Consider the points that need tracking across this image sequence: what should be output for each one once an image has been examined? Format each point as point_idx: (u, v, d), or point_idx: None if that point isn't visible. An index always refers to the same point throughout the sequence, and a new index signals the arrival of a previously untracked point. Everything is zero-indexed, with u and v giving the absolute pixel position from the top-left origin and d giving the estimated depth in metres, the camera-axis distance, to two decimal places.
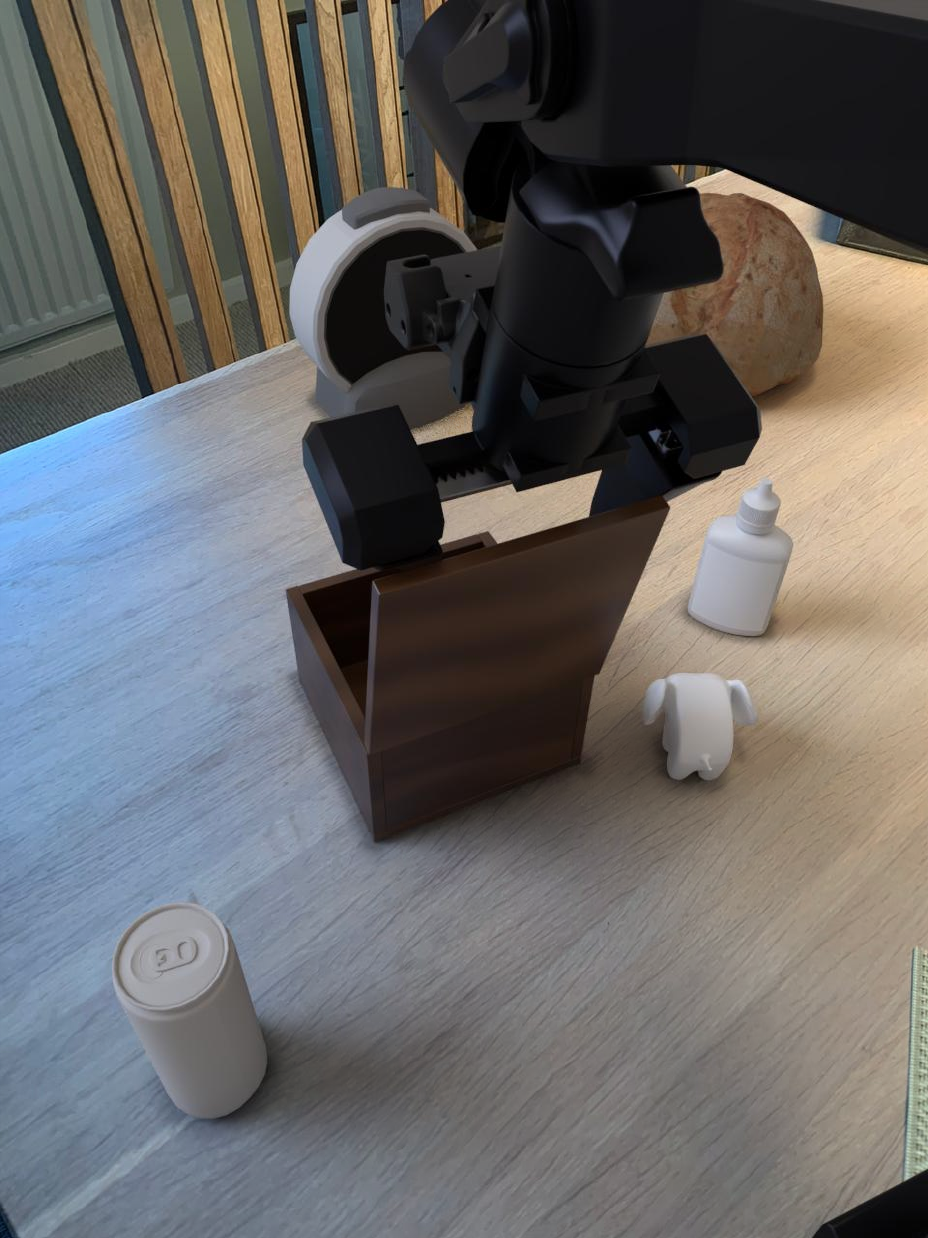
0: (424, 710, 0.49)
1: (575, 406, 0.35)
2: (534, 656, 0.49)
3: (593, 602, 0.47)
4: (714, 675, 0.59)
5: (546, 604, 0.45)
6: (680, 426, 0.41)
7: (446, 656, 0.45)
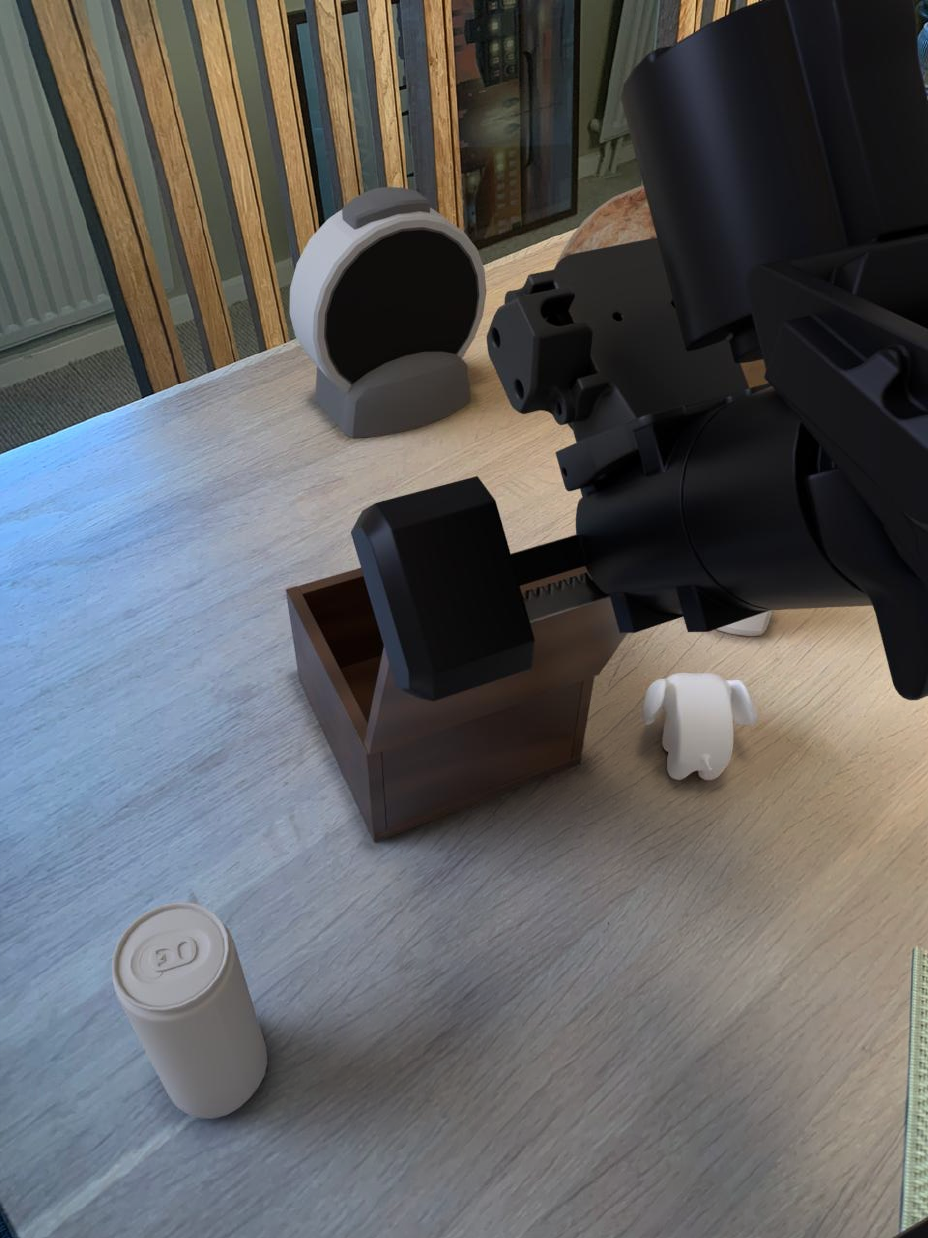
0: (427, 717, 0.49)
1: None
2: (539, 667, 0.49)
3: (603, 620, 0.47)
4: (714, 675, 0.59)
5: (557, 627, 0.45)
6: None
7: None
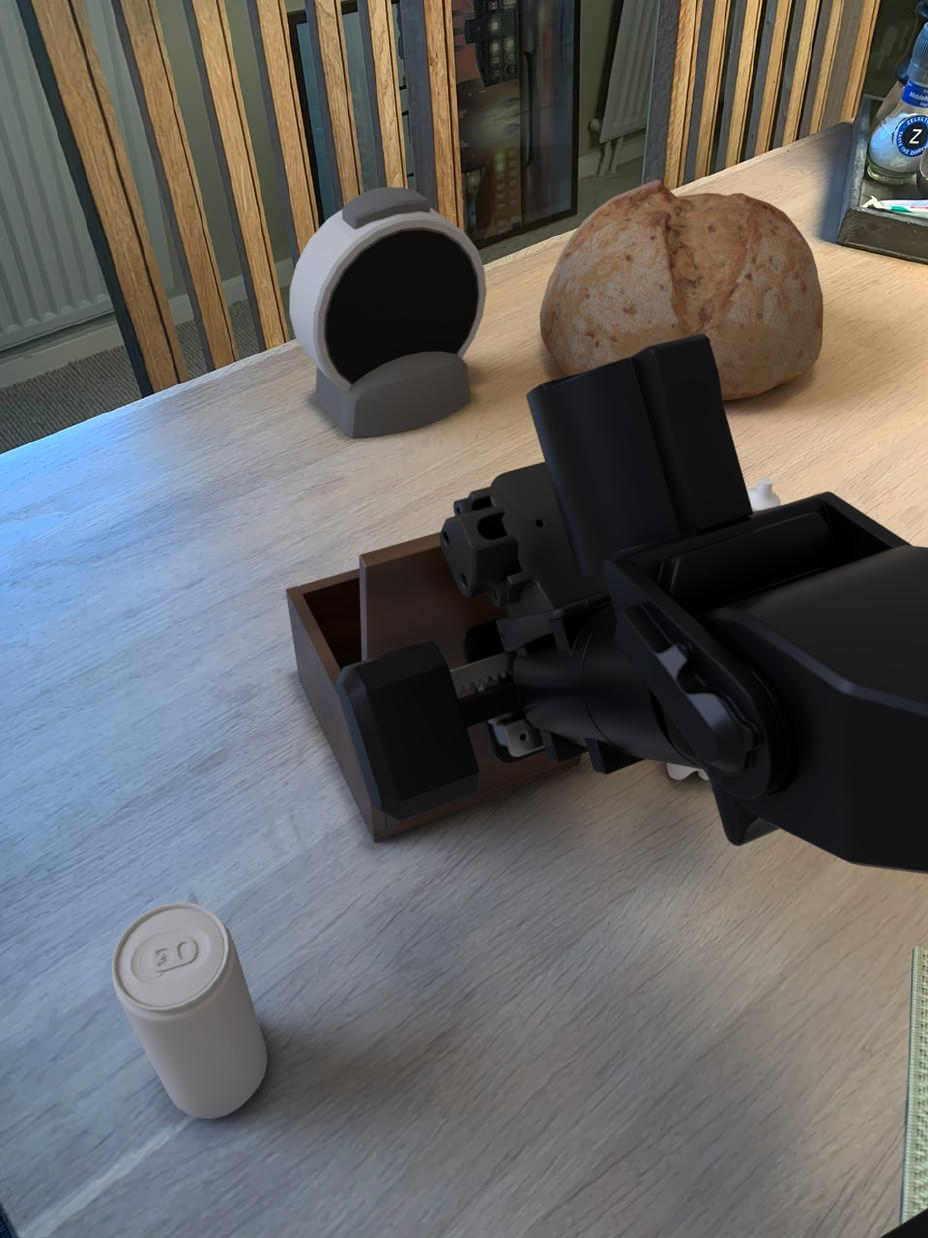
0: None
1: None
2: None
3: None
4: None
5: None
6: None
7: (439, 642, 0.46)
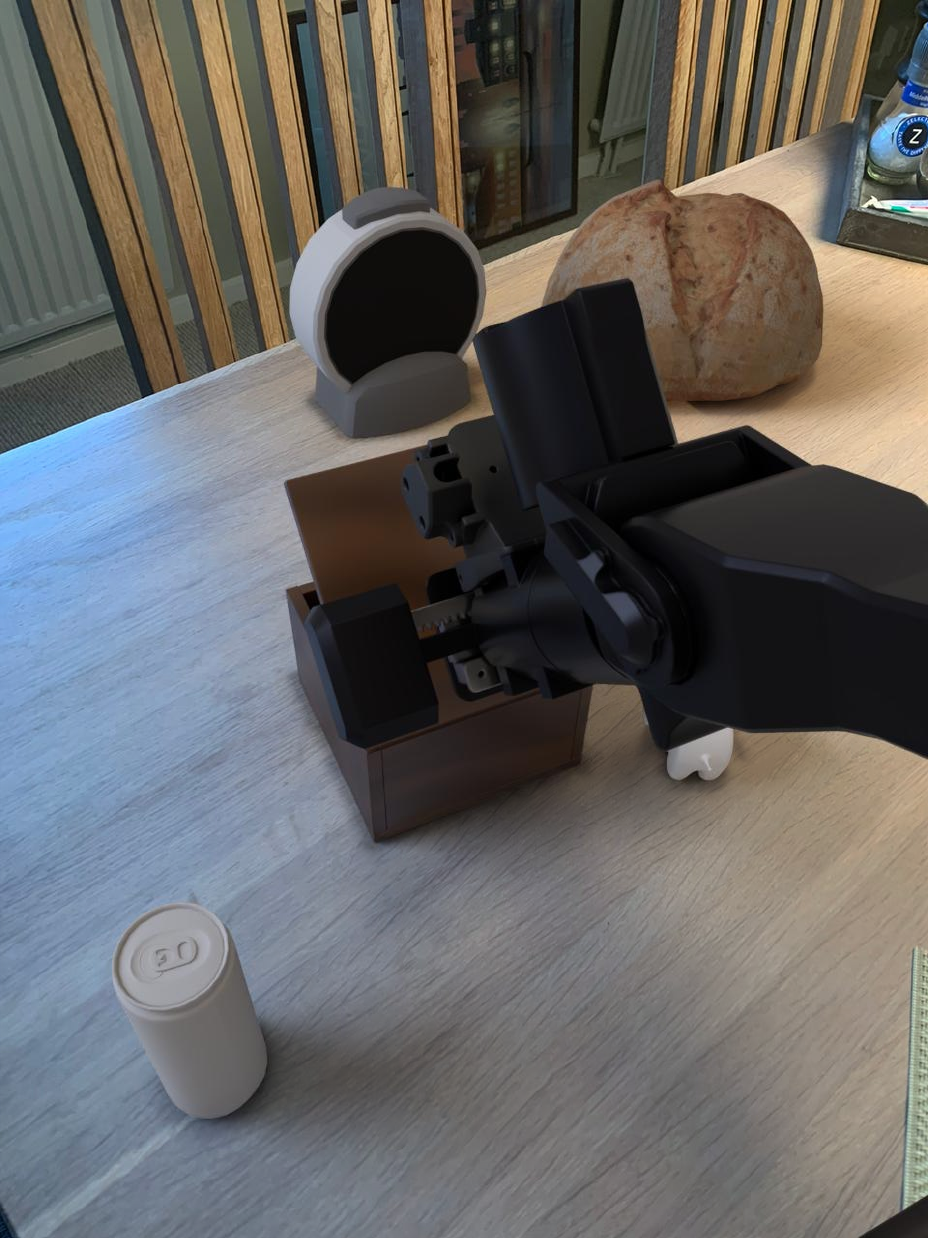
0: None
1: None
2: None
3: None
4: None
5: None
6: None
7: None
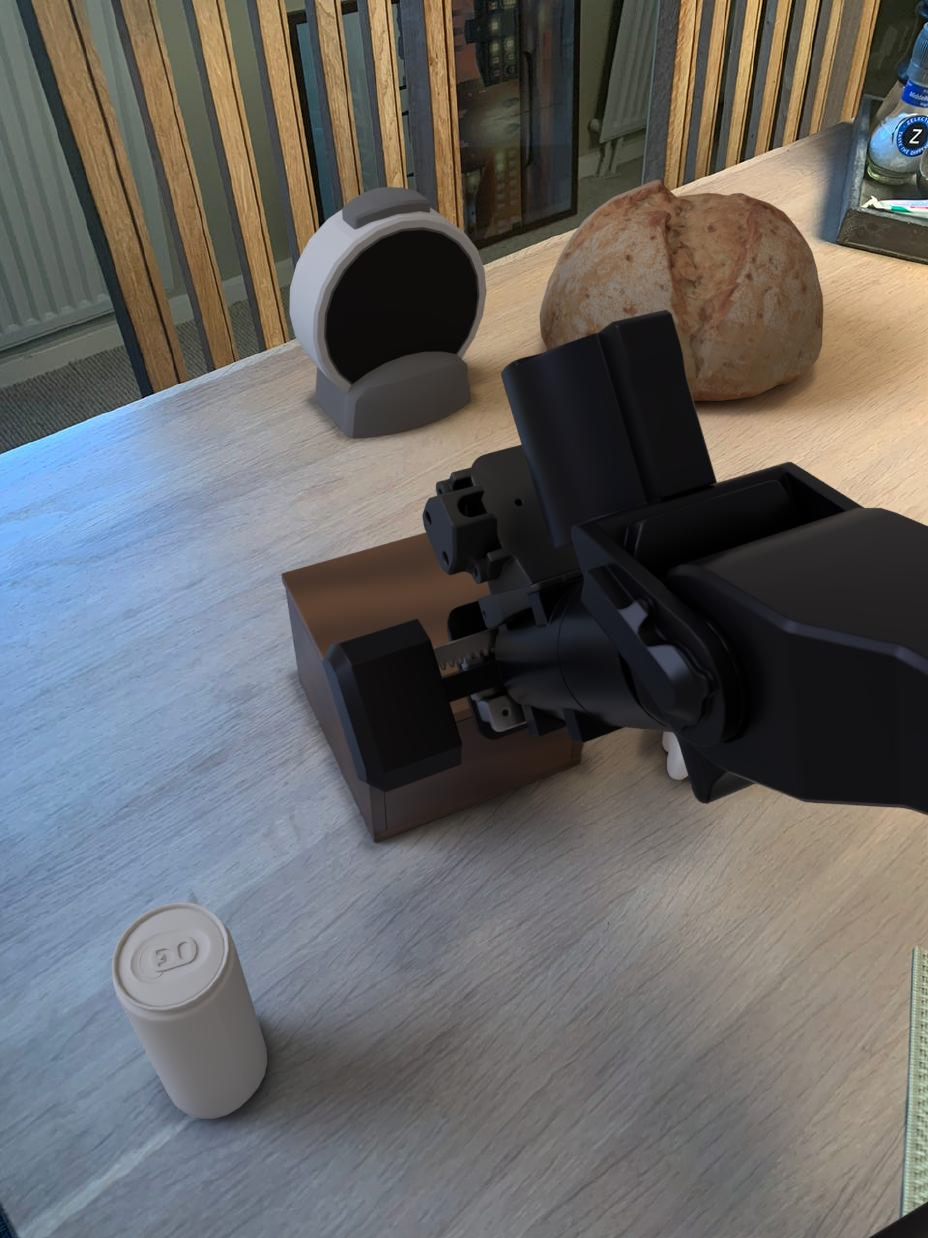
0: None
1: None
2: None
3: None
4: None
5: (441, 584, 0.59)
6: None
7: (375, 626, 0.56)
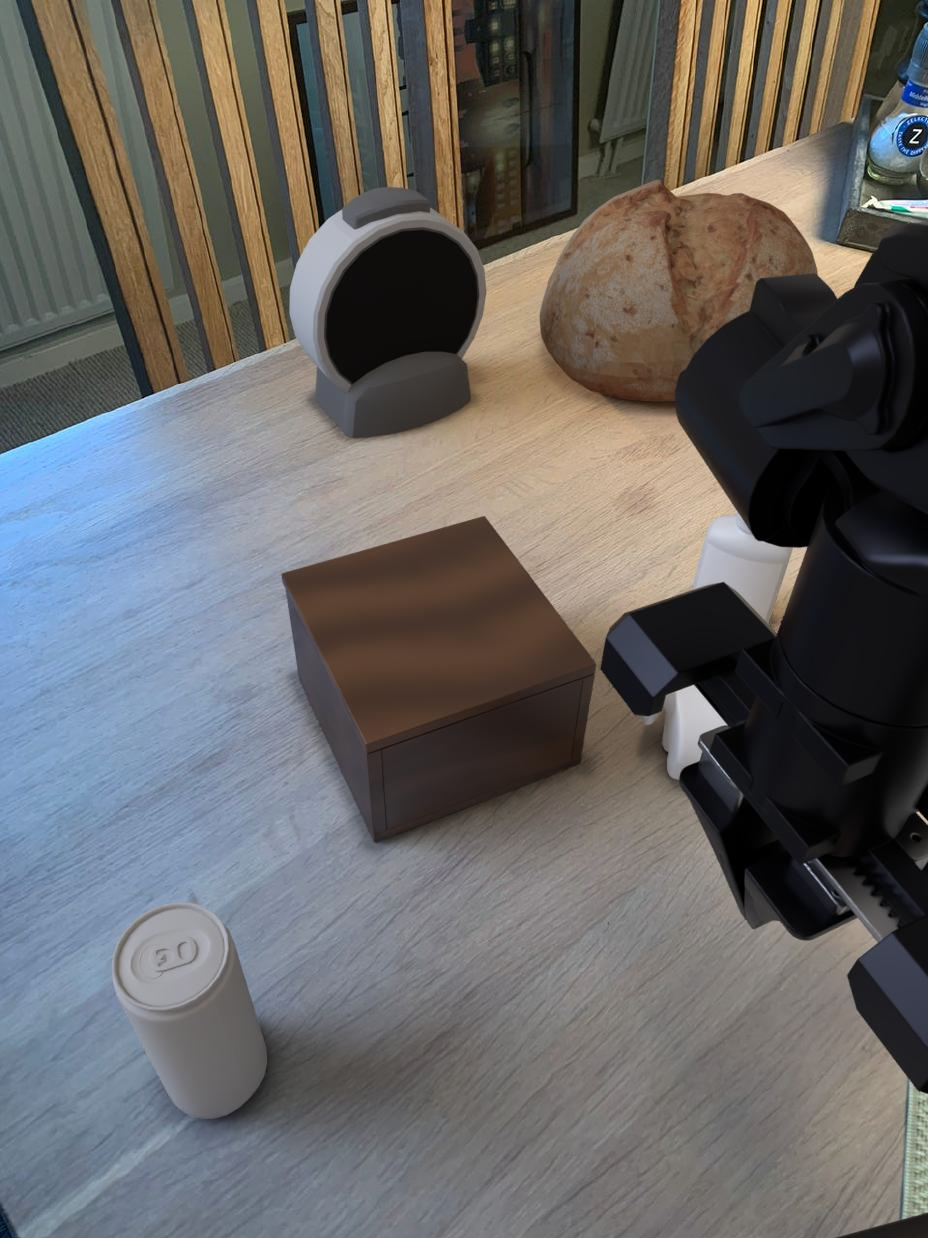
0: (395, 687, 0.53)
1: (768, 701, 0.30)
2: (478, 634, 0.56)
3: (491, 583, 0.59)
4: None
5: (441, 584, 0.59)
6: None
7: (375, 626, 0.56)
